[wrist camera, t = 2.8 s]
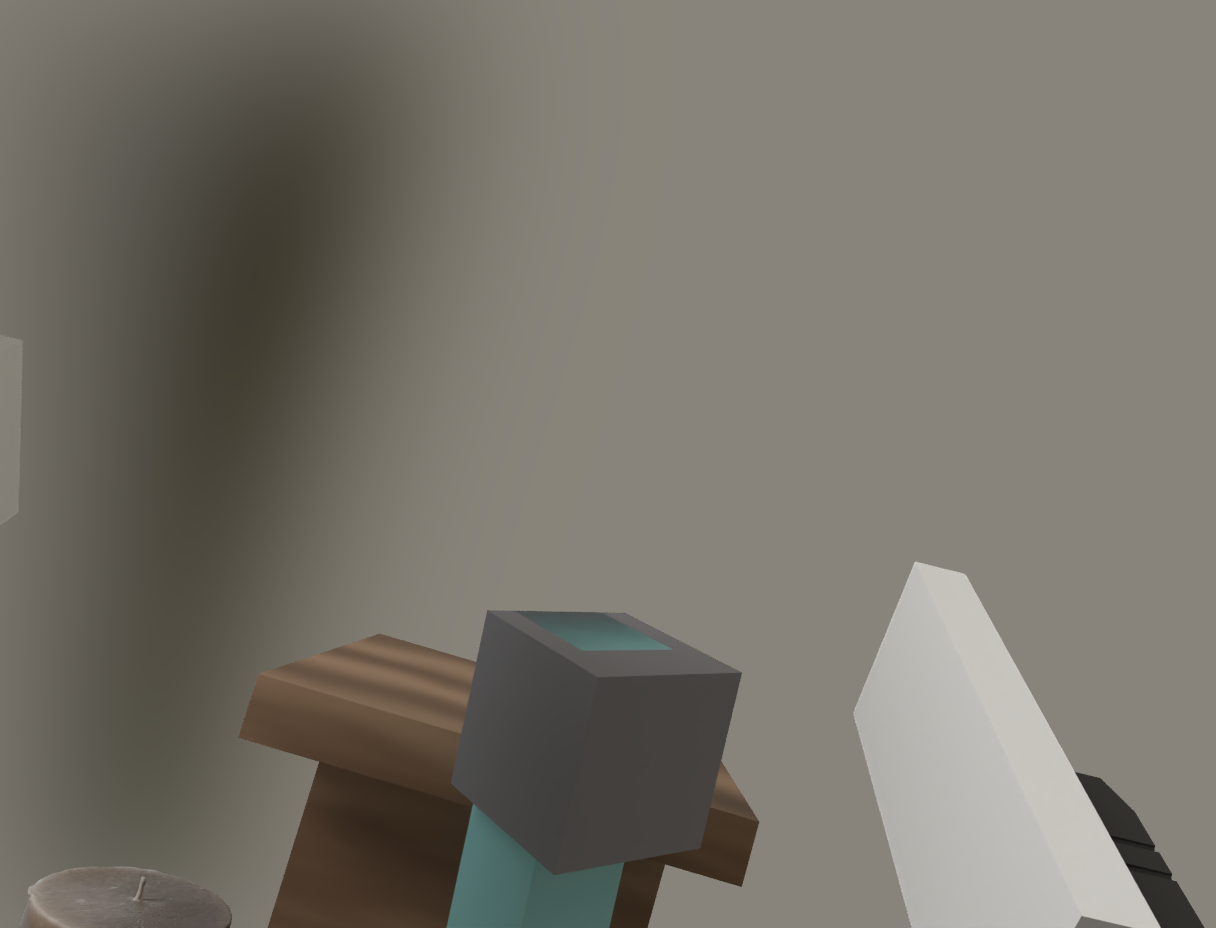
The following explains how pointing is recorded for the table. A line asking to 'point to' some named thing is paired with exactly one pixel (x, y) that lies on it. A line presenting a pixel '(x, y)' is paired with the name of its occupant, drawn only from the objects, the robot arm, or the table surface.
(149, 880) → the pillar candle
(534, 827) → the hammer
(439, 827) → the shelf stand
